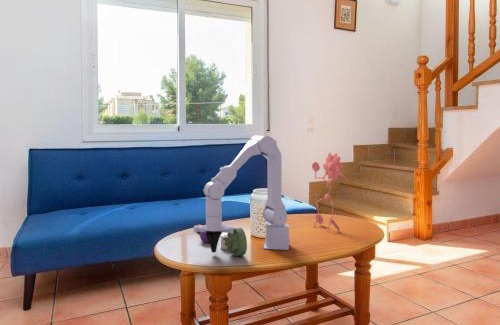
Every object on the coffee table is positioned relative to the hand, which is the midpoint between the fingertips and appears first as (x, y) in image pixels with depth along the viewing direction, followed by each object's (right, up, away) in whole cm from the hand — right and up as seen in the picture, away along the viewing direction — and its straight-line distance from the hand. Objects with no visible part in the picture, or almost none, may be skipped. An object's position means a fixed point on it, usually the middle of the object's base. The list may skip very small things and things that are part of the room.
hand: (213, 251), depth 137 cm
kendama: (-6, 0, +22) cm, 23 cm away
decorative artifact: (+7, -2, 0) cm, 7 cm away
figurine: (+51, +2, +38) cm, 64 cm away
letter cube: (+5, -1, +10) cm, 11 cm away
